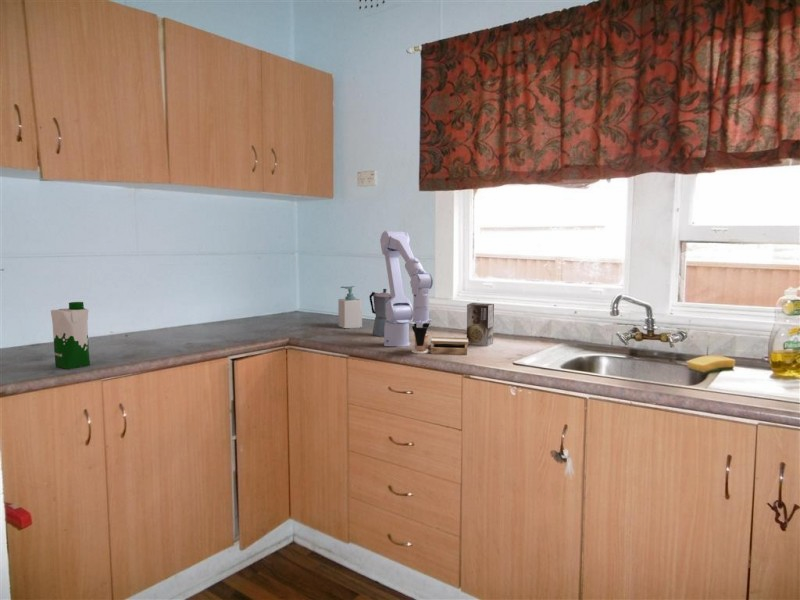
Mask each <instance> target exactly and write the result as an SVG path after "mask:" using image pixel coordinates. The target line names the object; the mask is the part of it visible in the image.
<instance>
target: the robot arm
mask: <svg viewBox="0 0 800 600" xmlns="http://www.w3.org/2000/svg"><path fill="white" fill-rule="evenodd" d="M380 235H381V236H380V239H379V240H380V248H381V254H382V255H384V258H385V259H384V260H385V265H386V272H387V279H388V284H389V290H390V293H389V294H391V299H390V300H389V301H388V302H387V303H386V312H385V314H386V318H387V320H388V321H389V322H385V328H384V337H383V338H384V339H383V343H384V344H383V346H384V347H410V344H412V343H411V341H410V339H409V337H410V335H409V334H410V333H409V332H410V323H411V321H412V322H413V323H414V324H413V325H412V326H411V328H412V330H413V334H414V333H415V336H414V338H415V337H416V343H417V346H423V344H424V339H425V334H426V333H428V329H429V327H430V322H431V323H432V322H433V319H432V318H430V290H431V289H432V287H433V284H434V279H433V277H432V274H431V273H429V272H428V271H426V270H425V269H424V267H423V265H422V263H421V262H420V260H419V259H418V258H417V257H415V256H414V254H413V251H412V249H411V246H410V241H411V239H410V236H409V234H408V231H387V230H384V231H383V232H382V233H381V234H380ZM400 256H401V257H402V258H403V260H404V262H405V263H404V269H405V271H406V272H407V274H408V276H409V277H410V281H409V282H410V283H409V284H410V288H411V294H412V296H413V297H412V300H413V301H412V300H410V299H409V298H407V297H406V296H405V291H404V284H403V280H402V279H403V277H402V272H401V267H400V259H399V257H400ZM411 301H412V303H413V304H412V303H411Z"/></svg>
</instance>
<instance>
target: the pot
mask: <svg viewBox="0 0 800 600" xmlns="http://www.w3.org/2000/svg"><path fill="white" fill-rule="evenodd" d="M413 336H414V349H416V350H426V349H428V337H429V333H428V332H426V334H425V339H424V344H423V346H417V343H416V337H415V333H414V332H413Z"/></svg>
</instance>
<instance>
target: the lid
mask: <svg viewBox="0 0 800 600" xmlns="http://www.w3.org/2000/svg"><path fill="white" fill-rule="evenodd" d="M432 343H436V344H467V345H469V344H468V338H467V337H456V336H454V337H448V336H432V337H431V340H430V344H432Z"/></svg>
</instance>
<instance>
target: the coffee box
mask: <svg viewBox="0 0 800 600" xmlns="http://www.w3.org/2000/svg"><path fill="white" fill-rule="evenodd" d="M494 310H495V304H494V303H486V302H485V303H484V302H482V303H481V302H471V303H468V304H466V338H468V344H467V345H473V346H483V347H484V346H485V347H489V346H491V345H494V321H495V320H494V319H495V318H494V315H495V314H494V313H495V311H494Z"/></svg>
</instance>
